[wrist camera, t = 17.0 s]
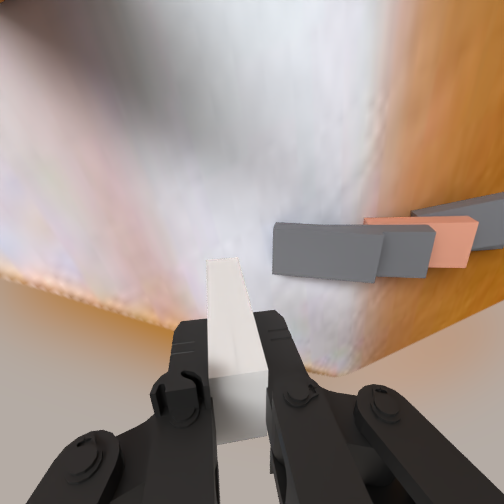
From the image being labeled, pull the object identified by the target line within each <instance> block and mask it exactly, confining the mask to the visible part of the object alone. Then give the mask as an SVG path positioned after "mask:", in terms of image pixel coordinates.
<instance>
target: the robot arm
mask: <svg viewBox="0 0 504 504" xmlns="http://www.w3.org/2000/svg"><path fill="white" fill-rule="evenodd" d="M206 279H207V319H199V320H190V321H181V322H180V324H179V325H178V327H177V328H176V330H175V331H174V335H173V342H172V349H171V356H170V363H169V370H168V372H167V373H165V374H164V375H162V376H161V377H160V378H159V379H158V380H157V381H156V383H155V384H154V385H153V388H152V390H151V392H150V398H151V402H152V406H153V409H154V415H153V416H151V417H150V418H149V419H148V420H147V421H145V422H144V423H142V424H140V425H139V426H137V427H135V428H133V429H131V430H129V431H126V432H124V433H122V434H120V435H118V436H116V437H115V436H114V435H113V433H111V432H108V431H105V430H99V431H91V432H89V433H87V434H85V435H82V436H80V437H78V438H77V439H75V440H74V441H73V442H71V443H70V444H69V445H68V446H66V447H65V448H64V449H63V451H62V452H61V453H60V454H59V456H58V457H57V458H56V459H55V460H54V462H53V463H52V465H51V466H50V468H49V469H48V471H47V473H46V474H45V475H44V477H43V478H42V480H41V481H40V483H39V484H38V486H37V488H36V489H35V491H34V492H33V494H32V495H31V497H30V498H29V500H28V501H27V503H26V504H220V493H219V470H218V461H217V445H220V444H225V443H231V442H236V441H242V440H247V439H252V438H258V437H264V436H267V430H268V435H269V440H270V444H271V448H270V474H273V473H274V478H275V482H276V488H277V492H278V497H279V502H280V504H504V494H503V493H502V492H501V491H500V490H499V489H498V488H497V487H496V486H495V485H494V484H493V483H492V482H491V481H490V480H489V479H488V478H487V477H486V476H485V475H484V474H482V473H481V472H480V471H479V470H478V469H477V468H476V467H475V466H474V465H473V464H472V463H471V462H470V461H469V460H468V459H467V458H466V457H465V456H464V455H463V454H462V453H461V452H460V451H459V450H458V449H457V448H456V447H455V446H454V445H452V443H450V441H448V440H447V439H446V438H445V437H444V436H443V435H442V434H441V433H440V432H439V431H438V430H437V429H436V428H435V427H434V426H433V425H432V424H431V423H430V422H429V421H428V420H427V419H426V418H425V417H424V416H423V415H422V414H421V413H419V411H418V410H417V409H416V408H415V407H413V406H412V405H411V404H410V403H409V402H408V401H407V400H406V399H405V398H404V397H403V396H401V395H400V394H399V393H398V392H396V391H395V390H393V389H390V388H388V387H386V386H383V385H376V384H372V385H367V386H364V387H363V388H362V389H361V390H359V392H358V395H357V396H355V395H349V394H342V393H336V392H332V391H328V390H326V389H324V388H322V387H320V386H319V385H318V384H317V383H316V382H315V381H314V380H313V379H311V378H310V377H309V375H308V373H307V372H306V369H305V367H304V365H303V362H302V360H301V358H300V355H299V353H298V351H297V348H296V346H295V343H294V341H293V339H292V336H291V334H290V332H289V330H288V327H287V325H286V322H285V320H284V318H283V317H282V316H281V315H280V314H279V313H278V312H277V311H275V310H270V311H262V312H253V311H252V307H251V304H250V300H249V296H248V293H247V289H246V285H245V281H244V278H243V274H242V270H241V266H240V263H239V259H238V257H236V258H224V259H212V260H206Z"/></svg>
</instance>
